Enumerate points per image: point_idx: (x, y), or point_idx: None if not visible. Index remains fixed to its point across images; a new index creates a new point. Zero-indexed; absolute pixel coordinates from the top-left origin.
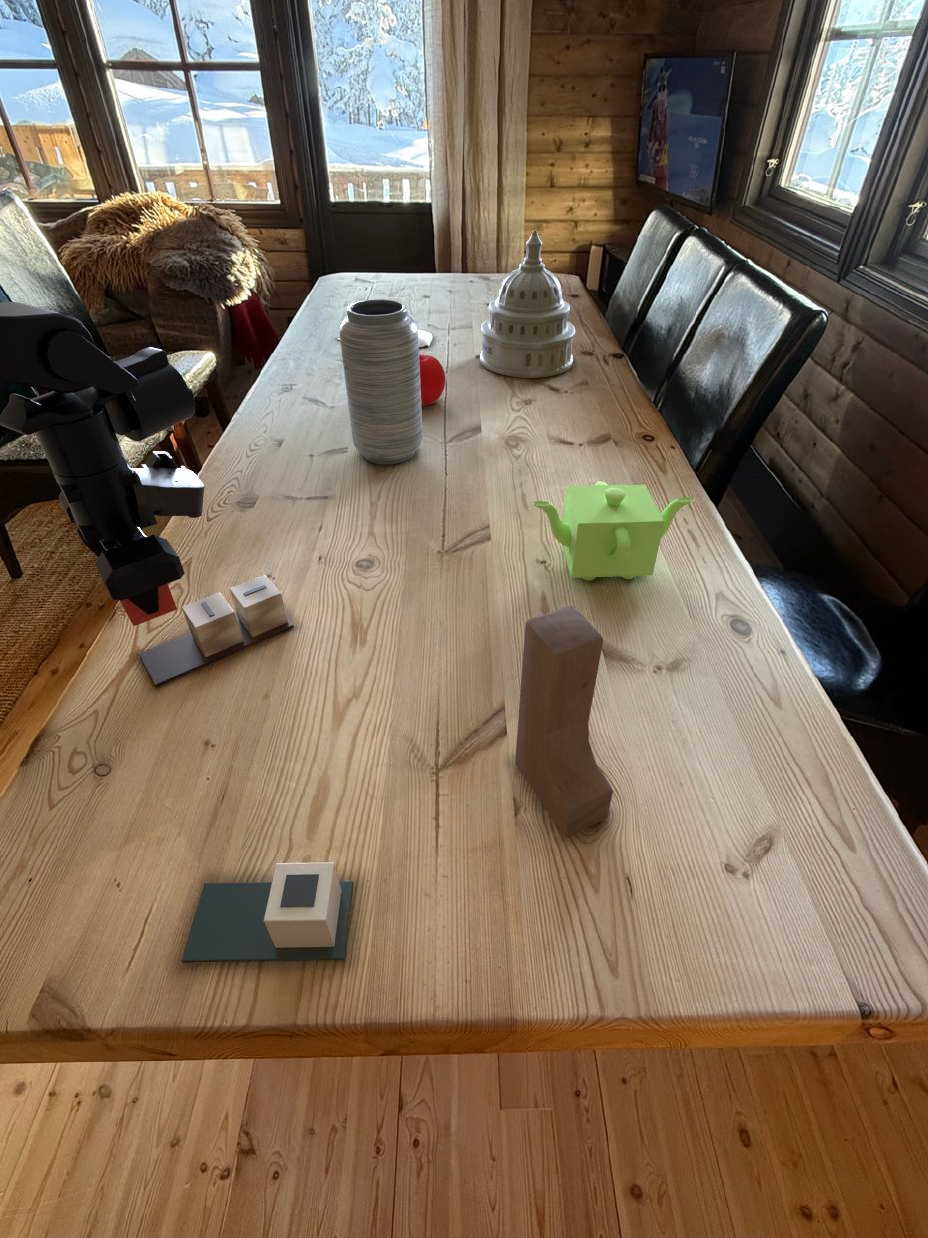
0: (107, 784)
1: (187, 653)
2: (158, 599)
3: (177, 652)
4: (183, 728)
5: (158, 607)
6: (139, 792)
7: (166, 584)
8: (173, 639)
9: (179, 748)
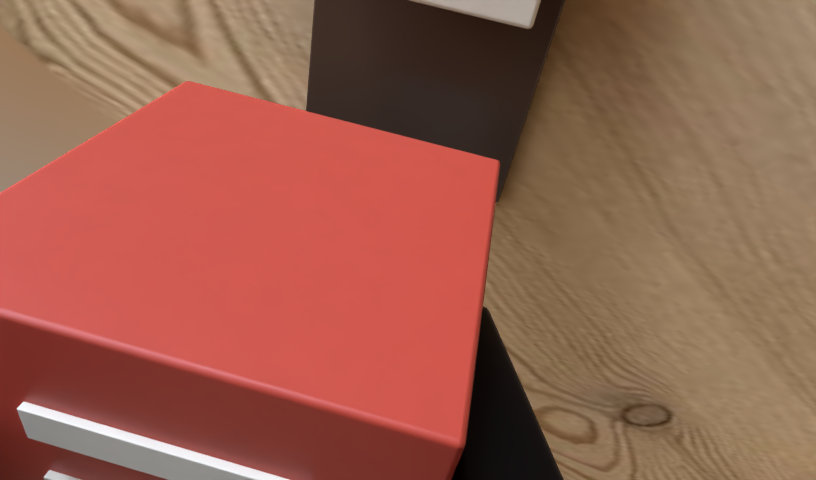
0: (697, 431)
1: (441, 29)
2: (525, 394)
3: (401, 53)
4: (748, 247)
5: (497, 332)
6: (804, 417)
7: (471, 341)
8: (314, 18)
9: (803, 297)
